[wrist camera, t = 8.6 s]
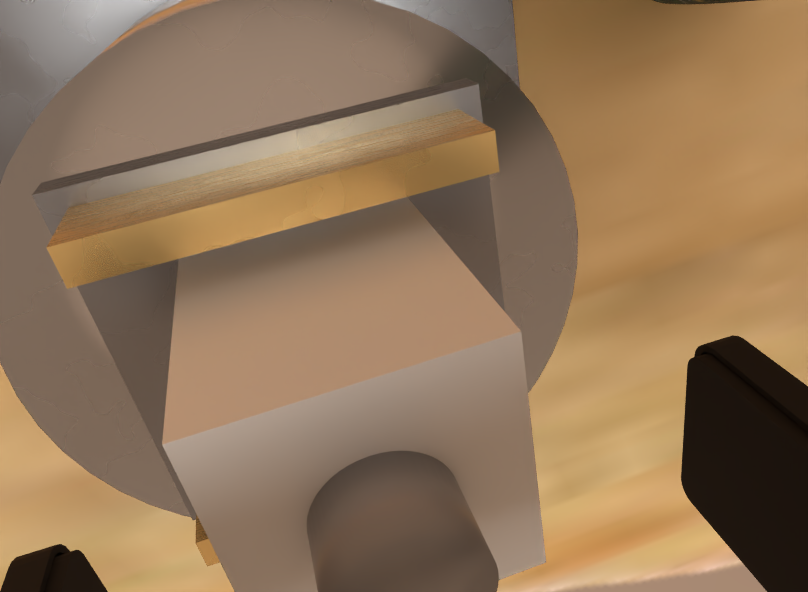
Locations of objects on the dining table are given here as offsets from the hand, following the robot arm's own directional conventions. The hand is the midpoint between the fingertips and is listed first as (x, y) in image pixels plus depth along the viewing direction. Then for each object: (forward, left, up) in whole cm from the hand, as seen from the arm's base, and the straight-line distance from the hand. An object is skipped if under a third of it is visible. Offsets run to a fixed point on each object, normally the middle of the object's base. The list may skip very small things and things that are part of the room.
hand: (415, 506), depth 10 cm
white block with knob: (0, 0, -6) cm, 6 cm away
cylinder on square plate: (+1, 0, -18) cm, 18 cm away
